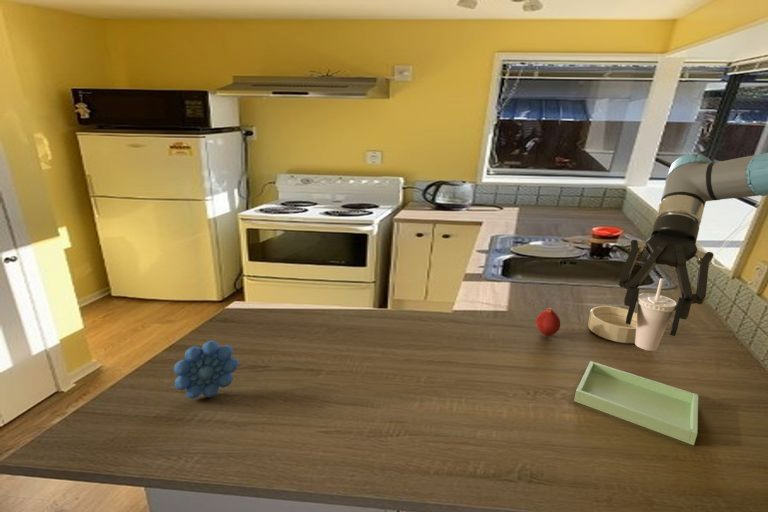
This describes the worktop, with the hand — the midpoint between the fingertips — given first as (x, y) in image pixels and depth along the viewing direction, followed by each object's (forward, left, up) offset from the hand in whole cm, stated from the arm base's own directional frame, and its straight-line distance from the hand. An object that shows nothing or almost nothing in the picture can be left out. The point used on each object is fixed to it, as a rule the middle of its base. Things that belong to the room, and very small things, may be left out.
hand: (650, 326), depth 77 cm
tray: (-1, -2, -18) cm, 18 cm away
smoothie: (0, -4, -6) cm, 7 cm away
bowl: (+7, -33, -18) cm, 38 cm away
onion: (+21, -19, -18) cm, 34 cm away
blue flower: (+67, +47, -18) cm, 84 cm away
